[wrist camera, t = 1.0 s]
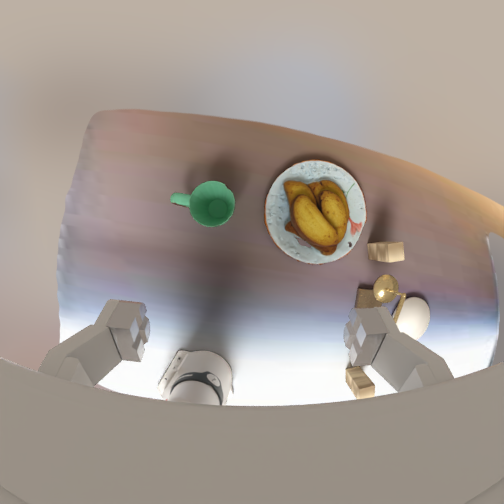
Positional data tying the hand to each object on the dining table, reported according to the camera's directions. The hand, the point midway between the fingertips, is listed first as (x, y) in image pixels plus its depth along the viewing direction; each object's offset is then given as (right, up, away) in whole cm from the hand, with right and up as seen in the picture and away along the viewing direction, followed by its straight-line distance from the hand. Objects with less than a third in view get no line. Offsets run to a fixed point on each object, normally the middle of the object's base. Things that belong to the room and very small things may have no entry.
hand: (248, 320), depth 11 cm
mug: (-10, +13, +58) cm, 60 cm away
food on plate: (+16, +12, +58) cm, 61 cm away
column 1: (+28, -31, +58) cm, 72 cm away
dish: (+44, -16, +58) cm, 74 cm away
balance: (+30, -14, +58) cm, 66 cm away
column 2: (+32, +3, +57) cm, 65 cm away
